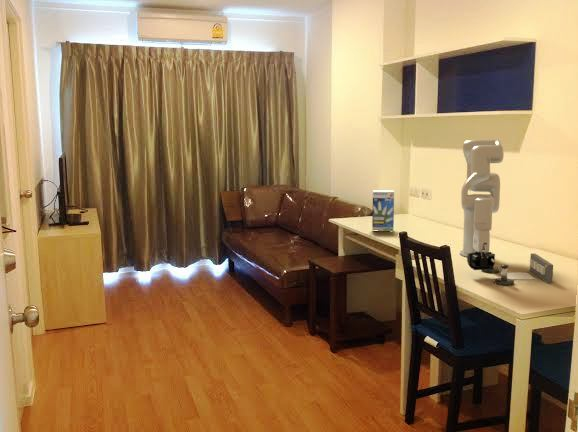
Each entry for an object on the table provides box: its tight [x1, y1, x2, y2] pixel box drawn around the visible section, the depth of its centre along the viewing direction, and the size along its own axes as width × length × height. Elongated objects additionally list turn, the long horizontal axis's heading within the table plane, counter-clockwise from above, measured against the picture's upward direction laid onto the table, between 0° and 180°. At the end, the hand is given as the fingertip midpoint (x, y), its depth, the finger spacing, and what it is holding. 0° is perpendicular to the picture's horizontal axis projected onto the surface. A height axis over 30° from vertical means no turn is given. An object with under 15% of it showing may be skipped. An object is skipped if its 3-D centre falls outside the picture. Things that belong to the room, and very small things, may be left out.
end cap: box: [466, 251, 496, 271], centre depth 244 cm, size 10×7×7 cm
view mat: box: [499, 272, 537, 281], centre depth 244 cm, size 10×12×1 cm
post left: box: [480, 252, 501, 274], centre depth 253 cm, size 8×8×8 cm
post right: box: [493, 263, 515, 287], centre depth 235 cm, size 8×8×8 cm
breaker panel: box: [529, 253, 554, 284], centre depth 243 cm, size 20×3×8 cm, turn 177°
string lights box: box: [371, 189, 395, 232], centre depth 346 cm, size 13×8×26 cm, turn 76°
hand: (480, 264), depth 244 cm, fingers closed on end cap, 7 cm apart
